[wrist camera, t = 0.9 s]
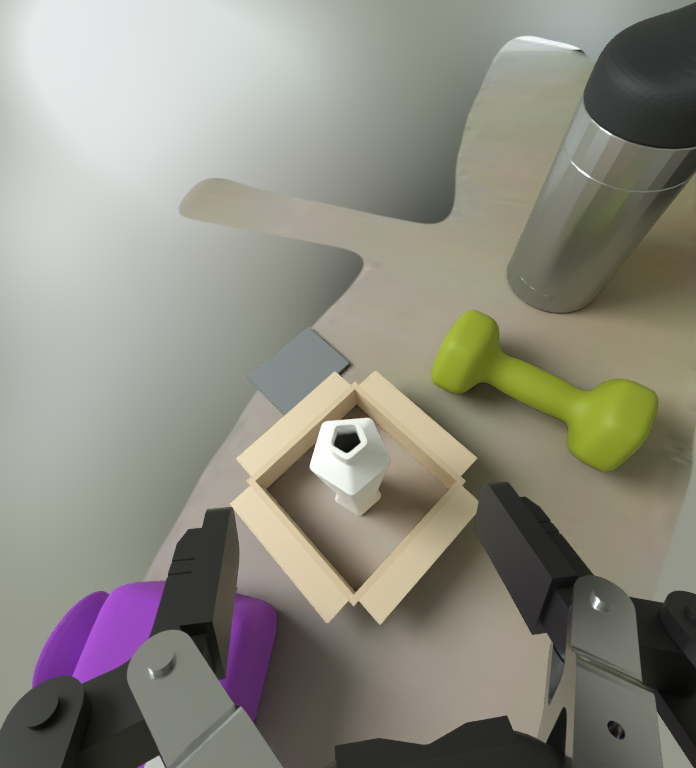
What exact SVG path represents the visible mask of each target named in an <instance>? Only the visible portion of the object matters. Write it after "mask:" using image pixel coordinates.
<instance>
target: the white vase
mask: <svg viewBox="0 0 696 768" xmlns="http://www.w3.org/2000/svg"><path fill="white" fill-rule="evenodd" d="M390 461H391V460H390V457H389V455H388V453H387V451H386V448H385V446H384V444H383V442H382V440H381V437H380V435H379V433H378V431H377V429H376V426H375V424H374V422H373V420H372V419H370V418H359V419H347V420H335V421H326V422H324V423H323V424H322V426H321V429H320V432H319V436H318V439H317V443H316V446H315V449H314V453H313V456H312V460H311V463H310V469H311V470H312V471H313V472H314V473H315V474H316V475H317V476H318V477H319V478H320V479H321V480H322V481H323V482H324V483H325V484H326V485H327V486H328V487H330V488H331V489H332V490H333V491H334V492H335V493H336V498H335V500H336V502H337V503H339V504H340V505H342V506H343V507H345V508H346V509H348V510H349V511H351V512H353V513H354V514H356V515H357V516H361V515H363V514H364V513H365V512H366V511H367V510H368V509H369V508H370V507H372V506H373V505H374V504H375V503H376V502H377V501H378V500H380V498H381V493H380V491H379V486H380V484H381V482H382V480H383V478H384V475H385V473H386V471H387V469H388V467H389V464H390Z"/></svg>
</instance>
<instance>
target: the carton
mask: <svg viewBox="0 0 696 768" xmlns="http://www.w3.org/2000/svg"><path fill="white" fill-rule="evenodd" d="M356 405H358V406H359V407H360V408H361V409H362V410H363V411H364V412H365V413H366V414H367V415H368V416H370V417H371V418H372V419H373V420H374V421H375V422H376V423H377V424H378V425H379V426H380V427H381V428H383V429H384V430H385V431H386V432H387V433H388V434H389V435H390V436H391V437H392V438H393V439H395V440H396V441H397V442H398V443H399V444H400V445H401V446H402V447H403V448H404V449H405V450H406V451H408V452H409V453H410V454H411V455H412V456H413V457H414V458H415V459H416V460H417V461H418V462H420V463H421V464H422V465H423V466H424V467H425V468H426V469H427V470H428V471H429V472H430V473H431V474H433V475H434V476H435V477H436V478H437V479H438V480H439V481H440V482H441V483H442V484H443V485H445V486H446V487H447V488H448V489H449V490H448V491H447V492H446V493H445V494H444V496H443V497H442V498H441V499H440V500H439V501H438V502H437V503H436V504H435V505H434V507H433V508H432V509H431V510H430V511H429V512H428V513H427V514H426V515H425V517H424V518H423V519H422V520H421V521H420V522H419V523H418V524H417V525H416V526H415V528H414V529H413V530H412V531H411V532H410V533H409V534H408V535H407V536H406V538H405V539H404V540H403V541H402V542H401V543H400V544H399V545H398V546H397V547H396V549H395V550H394V551H393V552H392V553H391V554H390V555H389V556H388V557H387V559H386V560H385V561H384V562H383V563H382V564H381V565H380V566H379V567H378V568H377V570H376V571H375V572H374V573H373V574H372V575H371V576H370V577H369V578H368V580H367V581H366V582H365V583H364V584H363V585H362V586H361V587H360V588H359V589H358V591H357V592H355V591H354V590H353V589H352V587H351V586H350V585H349V584H348V583H347V582H346V581H345V579H344V578H343V577H342V576H341V575H340V574H339V572H338V571H337V570H336V569H335V568H334V567H333V566H332V564H331V563H330V562H329V561H328V560H327V559H326V558H325V556H324V555H323V554H322V553H321V552H320V551H319V549H318V548H317V547H316V546H315V545H314V544H313V543H312V541H311V540H310V539H309V538H308V537H307V536H306V535H305V533H304V532H303V531H302V530H301V529H300V528H299V526H298V525H297V524H296V523H295V522H294V521H293V520H292V518H291V517H290V516H289V515H288V514H287V513H286V512H285V510H284V509H283V508H282V507H281V506H280V505H279V503H278V502H277V501H276V500H275V499H274V498H273V497H272V495H271V494H270V493H269V492H268V491H267V490H266V489H267V488H268V487H269V486H270V485H271V484H272V483H273V482H274V481H276V480H277V479H278V478H279V477H280V476H281V475H282V474H283V473H284V472H285V471H286V470H287V469H288V468H289V467H291V466H292V465H293V464H294V463H295V462H296V461H297V460H298V459H299V458H300V457H301V456H302V455H303V454H304V453H305V452H307V451H308V450H309V449H310V448H311V447H312V446H313V445H314V444H315V443H316V442H317V439H318V436H319V432H320V429H321V426H322V424H323V423H324V422H326V421H335V420H341V419H342V418H343V417H344V416H345V415H346V414H347V413H348V412H349V411H350V410H351V409H352V408H354V407H355V406H356ZM236 459H237V461H238V462H239V463H240V464H241V465H242V466H243V467H244V469H245V470H246V471H247V472H248V473H249V474H250V476H251V477H250V478H249V479H248V480H247V482H248V484H249V485H250V486H249V487H248V488H247V489H246V490H245V491H244V492H243V493H242V494H240V495H239V496H238V497H237V498H236V499H235V500H234V501H233V502H232V503H231V504H230V505H231V506H232V507H233V509H234V510H235V511H236V512H237V514H238V515H239V516H240V517H241V518H242V520H243V521H244V522H245V523H246V525H247V526H248V527H249V528H250V530H251V531H252V532H253V533H254V534H255V536H256V537H257V538H258V539H259V541H260V542H261V543H262V544H263V546H264V547H265V548H266V549H267V550H268V552H269V553H270V554H271V555H272V557H273V558H274V559H275V560H276V562H277V563H278V564H279V565H280V566H281V568H282V569H283V570H284V571H285V573H286V574H287V575H288V576H289V578H290V579H291V580H292V581H293V582H294V584H295V585H296V586H297V587H298V589H299V590H300V591H301V592H302V594H303V595H304V596H305V597H306V599H307V600H308V601H309V602H310V603H311V605H312V606H313V607H314V608H315V610H316V611H317V612H318V613H319V615H320V616H321V617H322V618H323V619H324V621H325V622H326V623H327V624H328V623H329V622H330V620H331V619H332V618H333V617H334V616H335V615H336V614H337V613H338V612H339V610H340V609H341V608H342V607H343V606H344V605H345V604H346V603H347V602H348V601H349V602H350V603H351V604H352V605H353V606H355V604H356V603H357V602H358V601H359V602H360V603H361V604H362V605H363V606H364V607H365V609H366V610H367V611H368V612H369V613H370V614H371V615H372V617H373V618H374V619H375V620H376V621H377V622H378V624H379V625H381V623H382V622H383V621H384V620H385V619H386V618H387V616H388V615H389V614H390V613H391V612H392V611H393V609H394V608H395V607H396V606H397V605H398V604H399V602H400V601H401V600H402V599H403V598H404V597H405V596H406V594H407V593H408V592H409V591H410V590H411V589H412V587H413V586H414V585H415V584H416V583H417V582H418V580H419V579H420V578H421V577H422V576H423V575H424V573H425V572H426V571H427V570H428V569H429V568H430V567H431V565H432V564H433V563H434V562H435V561H436V560H437V558H438V557H439V556H440V555H441V554H442V553H443V551H444V550H445V549H446V548H447V547H448V546H449V544H450V543H451V542H452V541H453V540H454V539H455V538H456V536H457V535H458V534H459V533H460V532H461V531H462V529H463V528H464V527H465V526H466V525H467V524H468V522H469V521H470V520H471V519H472V518H473V517H474V515H475V514H476V512H477V507H478V502H479V501H478V500H477V499H476V498H475V497H474V496H473V495H472V494H470V493H469V492H468V491H467V490H466V489H465V488H464V487H463V486H462V485H463V484H464V483H465V482H466V481H465V480H464V479H463V478H462V477H461V476H462V475H463V473H464V472H465V471H466V470H467V469H468V468H469V467H470V466H471V465H472V463H473V462H474V461H475V460H476V459H477V457H476V456H474V455H473V454H472V453H471V452H470V451H469V450H467V449H466V448H465V447H464V446H463V445H462V444H460V443H459V442H458V441H457V440H456V439H455V438H453V437H452V436H451V435H450V434H449V433H448V432H446V431H445V430H444V429H443V428H442V427H441V426H440V425H438V424H437V423H436V422H435V421H434V420H433V419H431V418H430V417H429V416H428V415H427V414H426V413H424V412H423V411H422V410H421V409H420V408H419V407H417V406H416V405H415V404H414V403H413V402H412V401H410V400H409V399H408V398H407V397H406V396H405V395H403V394H402V393H401V392H400V391H399V390H398V389H396V388H395V387H394V386H393V385H392V384H391V383H389V382H388V381H387V380H386V379H385V378H384V377H382V376H381V375H380V374H379V373H378V372H377V371H374V372H373V373H372V374H371V375H370V376H369V377H368V378H366V379H365V380H364V381H363V382H362V383H361V384H360V385H358V384H357V383H356V382H354V383H353V384H352V385H350V384H349V383H347V382H346V381H345V380H344V379H343V378H342V377H341V376H340V375H339V374H338V373H336V372H335V371H334V372H333V373H332V374H331V375H330V376H329V377H328V378H326V379H325V380H324V381H323V382H322V383H321V384H320V385H319V386H317V387H316V388H315V389H314V390H313V391H312V392H311V393H310V394H308V395H307V396H306V397H305V398H304V399H303V400H302V401H301V402H299V403H298V404H297V405H296V406H295V407H294V408H293V409H292V410H290V411H289V412H288V413H287V414H286V415H285V416H284V417H283V418H281V419H280V420H279V421H278V422H277V423H276V424H275V425H274V426H272V427H271V428H270V429H269V430H268V431H267V432H266V433H265V434H263V435H262V436H261V437H260V438H259V439H258V440H257V441H255V442H254V443H253V444H252V445H251V446H250V447H249V448H248V449H246V450H245V451H244V452H243V453H242V454H241V455H240V456H239V457H237V458H236Z"/></svg>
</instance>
